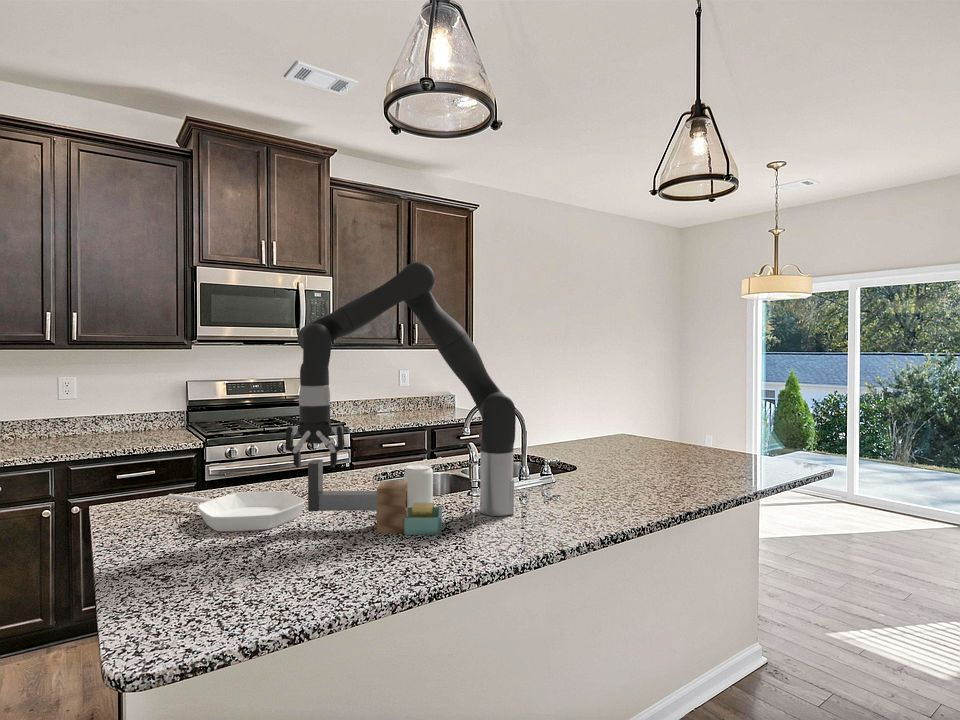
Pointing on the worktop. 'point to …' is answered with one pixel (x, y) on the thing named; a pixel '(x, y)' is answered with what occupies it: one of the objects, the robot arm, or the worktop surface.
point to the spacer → (423, 510)
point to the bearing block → (392, 506)
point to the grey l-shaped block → (335, 494)
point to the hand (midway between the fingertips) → (315, 467)
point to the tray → (424, 523)
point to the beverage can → (419, 483)
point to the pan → (247, 510)
